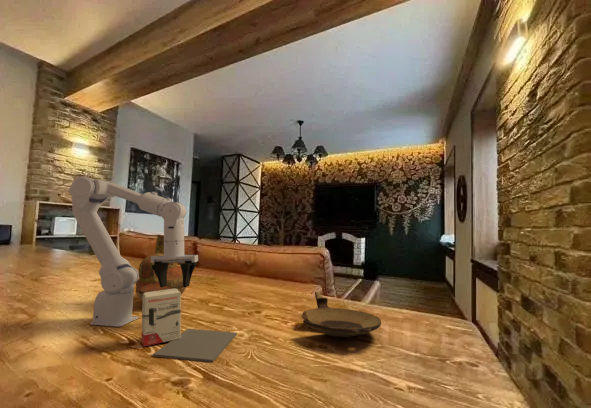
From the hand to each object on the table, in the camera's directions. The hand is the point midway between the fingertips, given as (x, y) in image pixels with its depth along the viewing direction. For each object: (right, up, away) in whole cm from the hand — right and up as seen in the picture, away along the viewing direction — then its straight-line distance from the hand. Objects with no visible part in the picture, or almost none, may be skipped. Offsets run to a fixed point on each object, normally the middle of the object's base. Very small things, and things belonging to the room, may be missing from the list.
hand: (174, 286), depth 86 cm
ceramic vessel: (-13, -12, +20) cm, 26 cm away
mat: (+13, -10, -15) cm, 22 cm away
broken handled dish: (+49, -13, -2) cm, 51 cm away
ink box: (+3, -10, -14) cm, 17 cm away
